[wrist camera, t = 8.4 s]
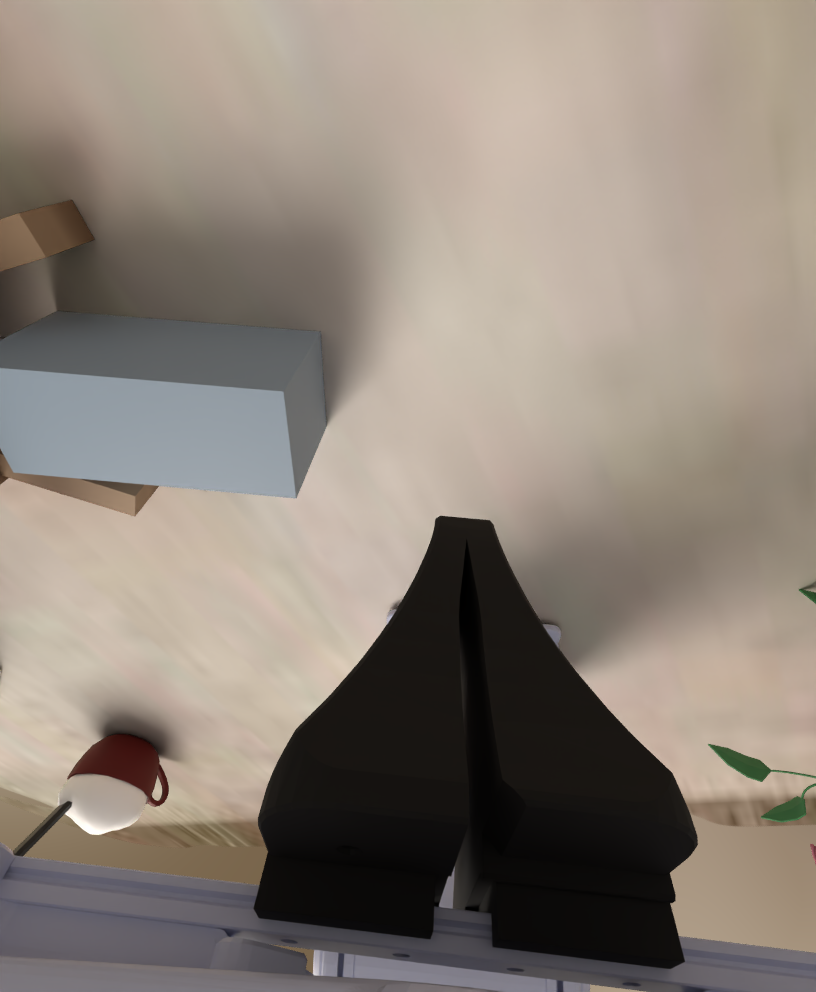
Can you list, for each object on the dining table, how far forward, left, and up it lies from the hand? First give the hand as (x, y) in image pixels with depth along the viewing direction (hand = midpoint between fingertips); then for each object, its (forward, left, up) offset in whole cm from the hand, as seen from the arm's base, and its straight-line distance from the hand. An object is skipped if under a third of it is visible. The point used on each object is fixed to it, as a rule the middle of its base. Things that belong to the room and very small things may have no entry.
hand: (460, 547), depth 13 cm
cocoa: (+23, +34, -9) cm, 42 cm away
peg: (+10, 0, -9) cm, 14 cm away
